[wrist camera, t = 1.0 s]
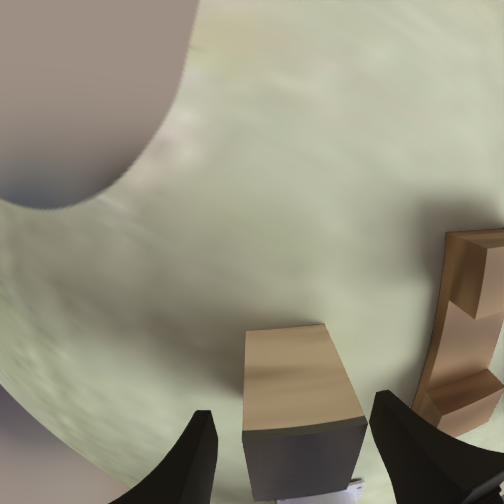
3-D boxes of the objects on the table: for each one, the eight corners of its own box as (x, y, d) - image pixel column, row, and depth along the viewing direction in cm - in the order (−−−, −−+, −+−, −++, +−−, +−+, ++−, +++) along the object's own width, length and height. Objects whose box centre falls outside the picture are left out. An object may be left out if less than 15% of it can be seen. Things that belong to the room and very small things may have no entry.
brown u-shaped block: (467, 395, 16) (487, 421, 13) (408, 417, 16) (425, 449, 13) (508, 228, 13) (546, 240, 10) (446, 232, 13) (487, 248, 10)
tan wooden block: (320, 394, 16) (346, 490, 9) (253, 401, 16) (254, 501, 9) (324, 323, 14) (368, 423, 8) (245, 331, 14) (241, 439, 8)
